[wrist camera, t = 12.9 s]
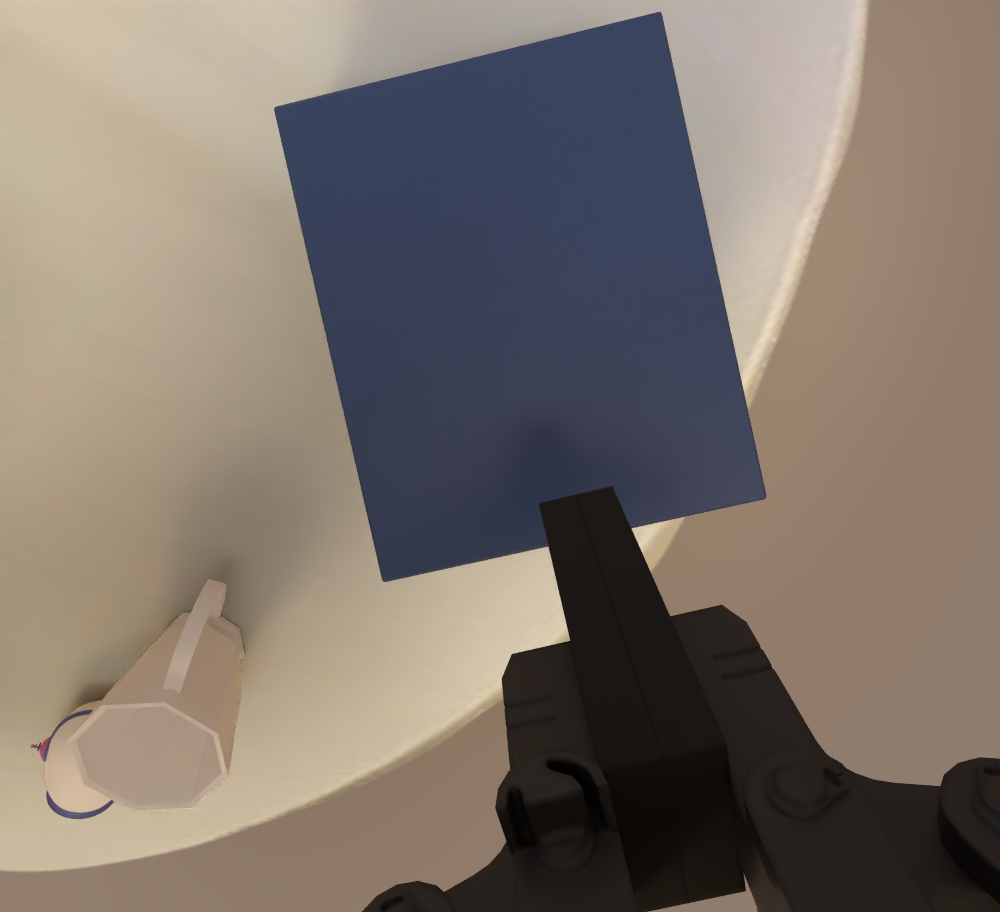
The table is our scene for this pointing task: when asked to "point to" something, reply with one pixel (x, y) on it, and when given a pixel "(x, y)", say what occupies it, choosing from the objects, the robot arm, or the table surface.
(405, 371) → the case lid
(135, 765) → the cup
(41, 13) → the table surface
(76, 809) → the toy
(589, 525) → the robot arm
